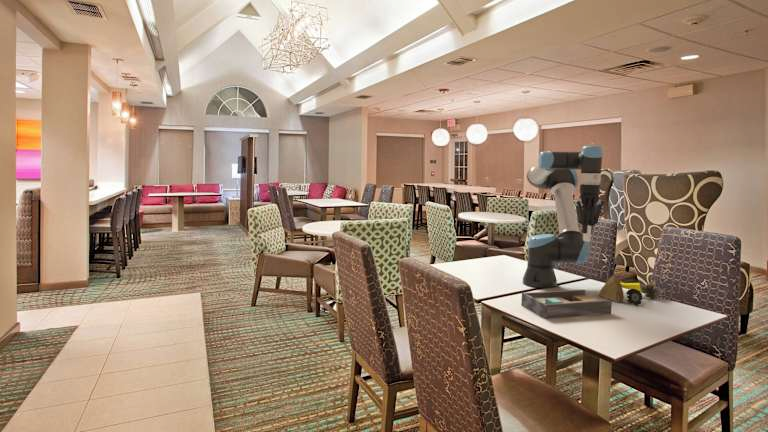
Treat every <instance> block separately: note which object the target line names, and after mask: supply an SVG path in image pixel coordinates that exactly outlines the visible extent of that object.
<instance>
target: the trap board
mask: <svg viewBox="0 0 768 432" xmlns="http://www.w3.org/2000/svg"><path fill="white" fill-rule="evenodd" d="M546 298H556V299H558V300H560V301H562V302H563V303H555V304H545V299H546ZM520 305H521V307H524V308H525V309H527V310H528V311H530V312H532V313H534V314H535V315H538V316H539V317H541V318H543V319H557V318H558V319H559V318H569V317H570V318H571V317H584V316H599V315H600V316H601V315H611V314H612V305H613V301H612V300H609V299H605V300H598V299H595V298H594V297H591V296H588V295H586V289H573V290H572V289H571V290H556V291H555V290H554V291H536V292H535V291H533V292H521V303H520Z"/></svg>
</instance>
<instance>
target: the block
mask: <svg viewBox="0 0 768 432" xmlns="http://www.w3.org/2000/svg"><path fill="white" fill-rule="evenodd" d="M555 303H563V302H562V301H560V300H558V299H556V298H546V299H545V304H555Z"/></svg>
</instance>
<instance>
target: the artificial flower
mask: <svg viewBox="0 0 768 432" xmlns="http://www.w3.org/2000/svg"><path fill="white" fill-rule="evenodd" d="M639 286H640V287H641V289H642V290H643V291H645V292H646V293H644V294H645V295H644V296H649V298H647V297H644V296H643V293H642V292H641V291H640V290H638V289H635V288H631V289H628V290H627V291H626V293H625V294H626V299H627V300H626V302H627V303H628V304H629V303H630V304H629V305H634V304H635V305H634V306H638V305H641V304H642V300H643V299H645V300H647V301H650V300H651V299H652V301H654V299H655V298H656V294H658V295H661V294H663V293H664V292H666V289H664V288H659V289H656V290H655V288H656V286H657V285H656V280H653V281H651V282H650V283H646V285H645V284H644V283H641V284H640V285H639Z"/></svg>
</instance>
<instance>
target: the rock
mask: <svg viewBox="0 0 768 432" xmlns="http://www.w3.org/2000/svg"><path fill="white" fill-rule="evenodd" d="M598 295H599V296H598V297H601V298H603V299H605V298H606V299H605V300H609V299H610V300H611V301H612V300H613V301H614V302H617V303H624V299H625V296H624V290H623V286H622V283H621V281H620V278H619V277H618V276H616V275H615V274H612V275H611V276H610V277H609V278H608V279H607V280H606V282H605V284H604V285H603V286H602V288H601V289H600V291H599V293H598ZM613 301H612V302H613Z"/></svg>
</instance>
